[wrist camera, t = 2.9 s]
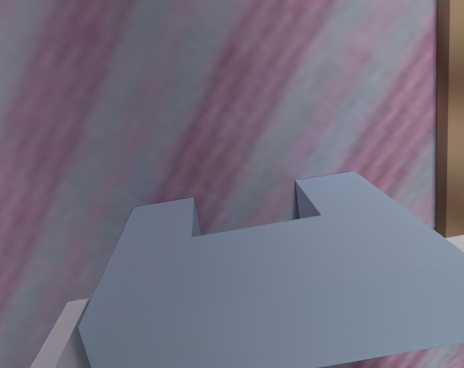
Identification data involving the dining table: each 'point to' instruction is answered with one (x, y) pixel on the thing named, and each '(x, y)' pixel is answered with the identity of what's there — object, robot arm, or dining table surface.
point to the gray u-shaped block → (277, 286)
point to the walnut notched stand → (450, 119)
